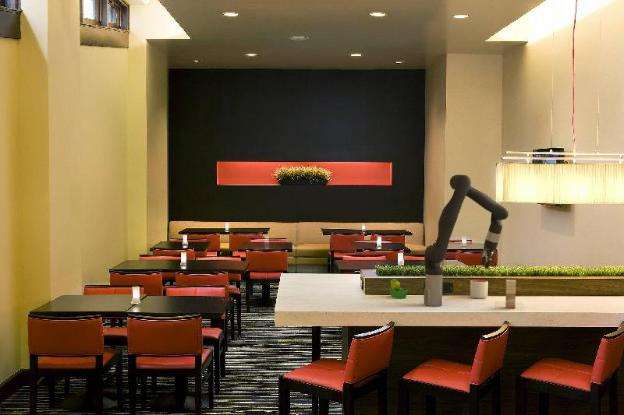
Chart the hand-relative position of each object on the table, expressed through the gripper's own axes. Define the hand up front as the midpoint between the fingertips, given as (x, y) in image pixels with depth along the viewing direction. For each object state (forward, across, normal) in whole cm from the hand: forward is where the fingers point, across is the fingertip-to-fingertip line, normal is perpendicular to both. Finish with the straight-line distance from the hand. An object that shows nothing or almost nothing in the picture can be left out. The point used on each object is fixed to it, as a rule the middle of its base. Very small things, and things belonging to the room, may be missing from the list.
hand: (484, 266), depth 471 cm
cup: (+21, -6, +5) cm, 22 cm away
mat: (+14, +22, +13) cm, 29 cm away
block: (+13, +29, +11) cm, 34 cm away
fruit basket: (+31, -6, -43) cm, 53 cm away
